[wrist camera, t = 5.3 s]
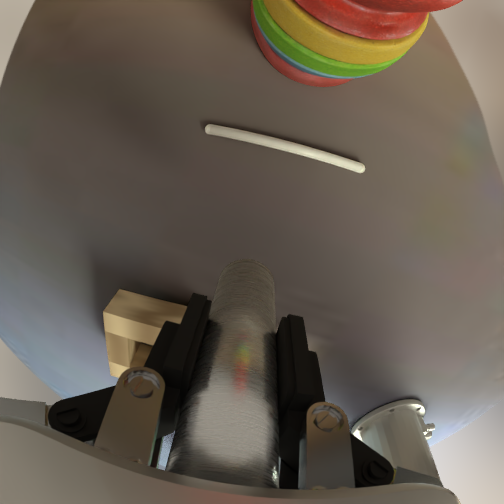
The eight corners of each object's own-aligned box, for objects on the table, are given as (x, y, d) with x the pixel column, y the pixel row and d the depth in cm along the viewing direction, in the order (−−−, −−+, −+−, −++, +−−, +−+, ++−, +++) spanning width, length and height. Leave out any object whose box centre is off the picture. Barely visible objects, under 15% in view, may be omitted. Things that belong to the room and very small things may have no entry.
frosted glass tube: (280, 266, 14) (298, 533, 3) (266, 312, 16) (260, 548, 4) (224, 253, 14) (147, 514, 3) (215, 300, 15) (154, 532, 4)
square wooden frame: (207, 310, 28) (200, 337, 24) (196, 371, 32) (190, 397, 28) (119, 288, 27) (103, 311, 23) (122, 351, 31) (110, 375, 27)
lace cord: (364, 164, 22) (367, 165, 21) (361, 173, 22) (364, 174, 21) (206, 123, 21) (205, 123, 20) (204, 133, 21) (203, 133, 20)
